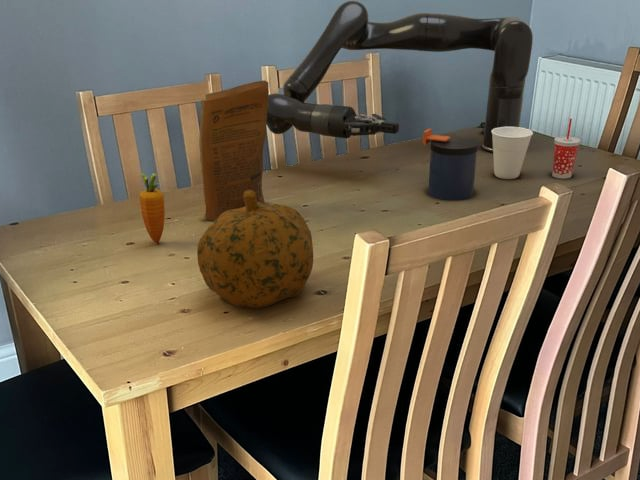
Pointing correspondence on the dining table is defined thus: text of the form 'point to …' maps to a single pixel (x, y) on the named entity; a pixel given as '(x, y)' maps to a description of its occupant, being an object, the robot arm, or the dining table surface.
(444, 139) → the slider
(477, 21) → the robot arm
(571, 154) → the beverage cup
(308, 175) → the dining table surface
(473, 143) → the blue lidded canister
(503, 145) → the cup
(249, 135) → the pancake mix bag
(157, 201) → the carrot
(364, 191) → the dining table surface
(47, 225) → the dining table surface
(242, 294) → the decorative pumpkin
